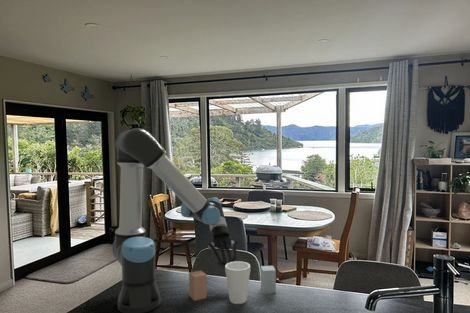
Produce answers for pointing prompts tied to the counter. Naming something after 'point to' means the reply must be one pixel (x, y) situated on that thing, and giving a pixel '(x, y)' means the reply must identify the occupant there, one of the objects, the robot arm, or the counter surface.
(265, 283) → the slate block
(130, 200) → the robot arm
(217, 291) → the counter surface
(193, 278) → the terracotta block
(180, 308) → the counter surface
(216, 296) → the counter surface
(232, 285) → the foam cup
